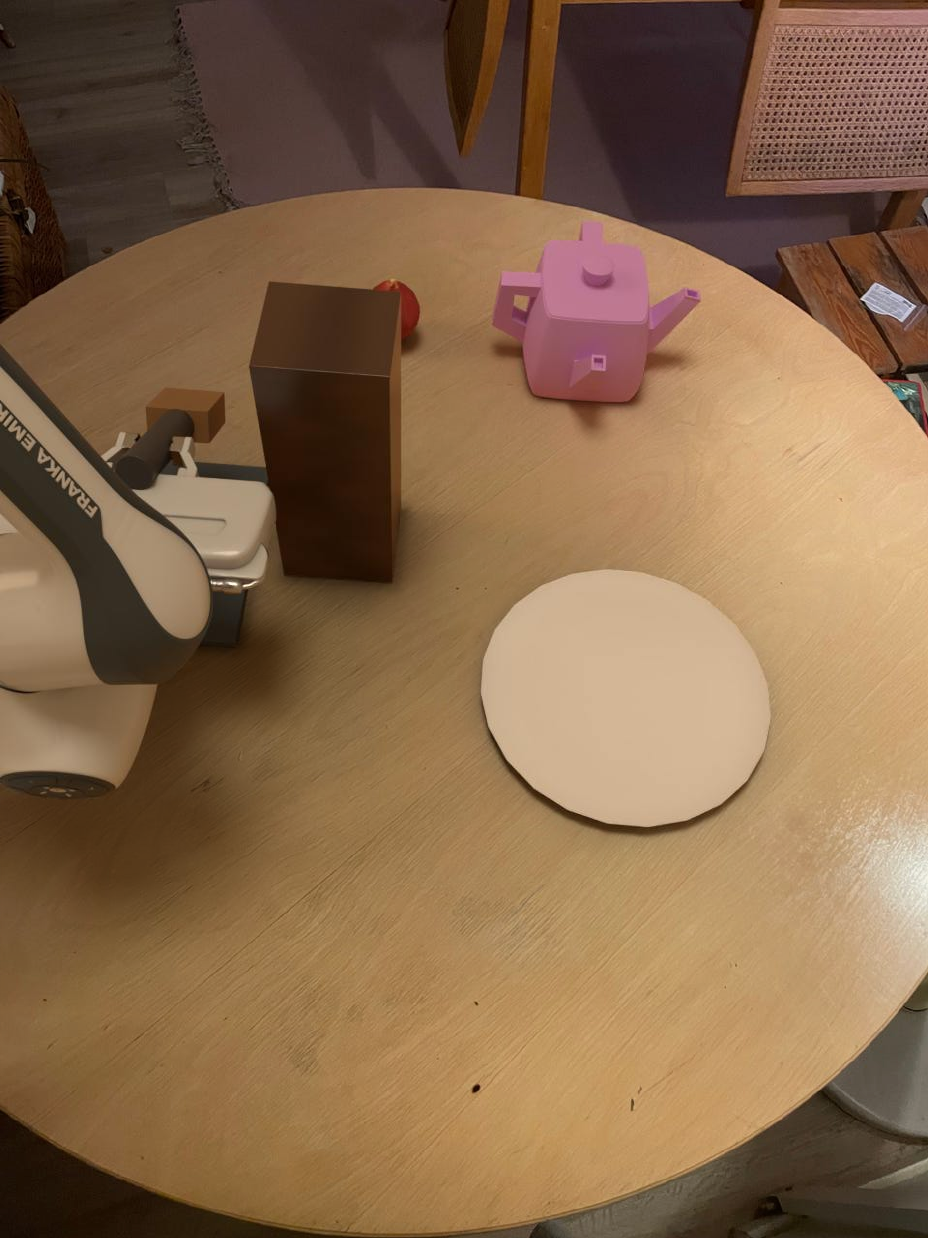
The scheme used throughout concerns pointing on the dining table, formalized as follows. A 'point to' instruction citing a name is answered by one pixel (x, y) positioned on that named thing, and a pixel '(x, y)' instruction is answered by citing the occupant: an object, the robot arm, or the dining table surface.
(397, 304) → the post
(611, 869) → the dining table surface
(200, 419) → the brown block with handle
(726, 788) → the plate
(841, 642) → the dining table surface
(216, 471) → the felt mat
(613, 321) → the teakettle
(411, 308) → the onion
